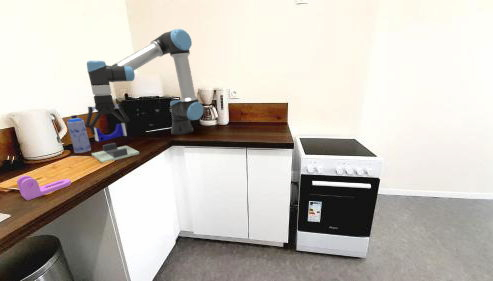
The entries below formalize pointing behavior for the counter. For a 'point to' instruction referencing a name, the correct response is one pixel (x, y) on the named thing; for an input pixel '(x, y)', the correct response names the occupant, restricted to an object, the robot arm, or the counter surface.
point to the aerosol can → (78, 135)
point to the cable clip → (116, 133)
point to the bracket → (32, 189)
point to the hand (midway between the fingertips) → (111, 138)
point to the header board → (107, 157)
